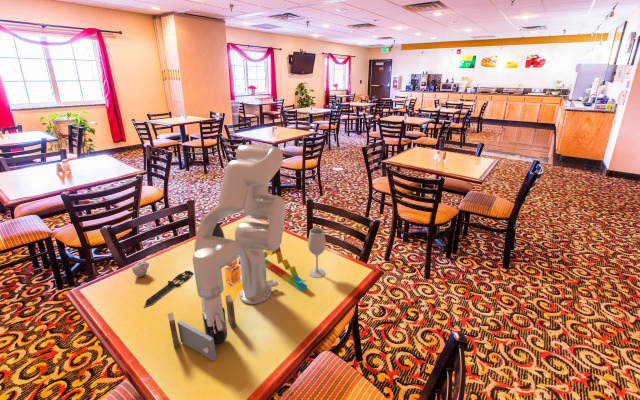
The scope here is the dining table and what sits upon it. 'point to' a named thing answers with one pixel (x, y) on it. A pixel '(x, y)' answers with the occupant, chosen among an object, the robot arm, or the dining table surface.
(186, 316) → the dining table surface
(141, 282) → the dining table surface
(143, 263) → the white rounded lump
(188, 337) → the door
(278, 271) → the chart
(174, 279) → the knife
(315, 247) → the wineglass
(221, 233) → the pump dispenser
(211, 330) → the supplement container
